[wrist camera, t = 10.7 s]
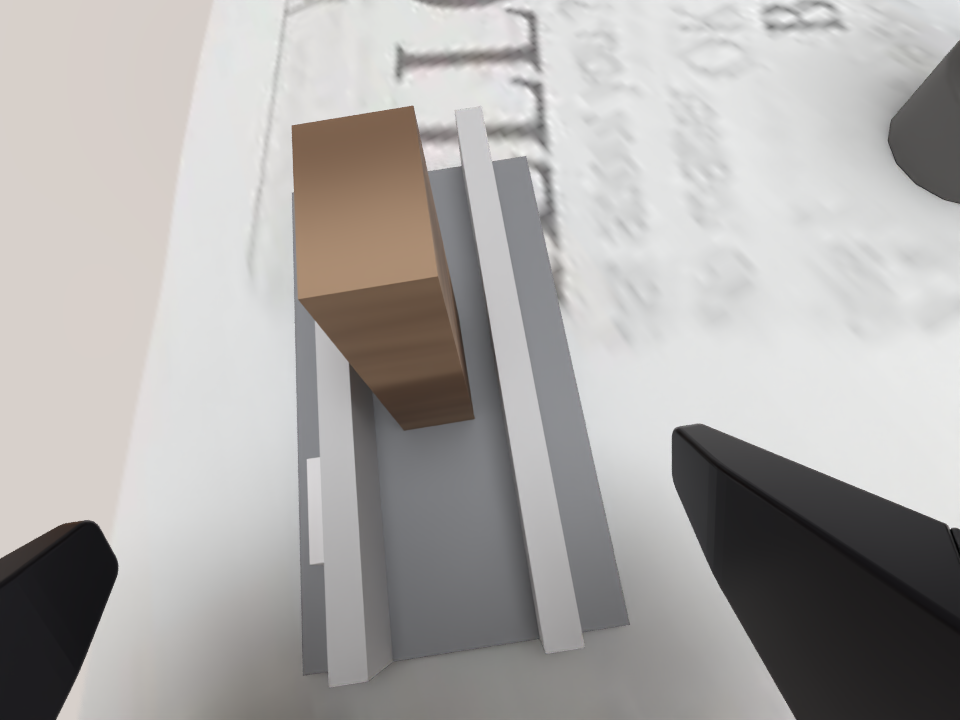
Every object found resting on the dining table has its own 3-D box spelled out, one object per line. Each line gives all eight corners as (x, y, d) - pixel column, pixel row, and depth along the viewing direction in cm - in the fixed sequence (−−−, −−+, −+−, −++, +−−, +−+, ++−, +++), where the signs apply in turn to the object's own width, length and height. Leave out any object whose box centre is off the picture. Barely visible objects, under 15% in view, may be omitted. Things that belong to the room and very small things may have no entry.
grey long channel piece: (622, 620, 17) (654, 637, 14) (316, 668, 17) (259, 698, 14) (525, 175, 24) (528, 98, 20) (302, 210, 24) (261, 140, 20)
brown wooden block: (474, 419, 19) (437, 276, 10) (404, 430, 19) (297, 299, 10) (455, 295, 21) (408, 73, 11) (391, 306, 21) (290, 92, 11)
